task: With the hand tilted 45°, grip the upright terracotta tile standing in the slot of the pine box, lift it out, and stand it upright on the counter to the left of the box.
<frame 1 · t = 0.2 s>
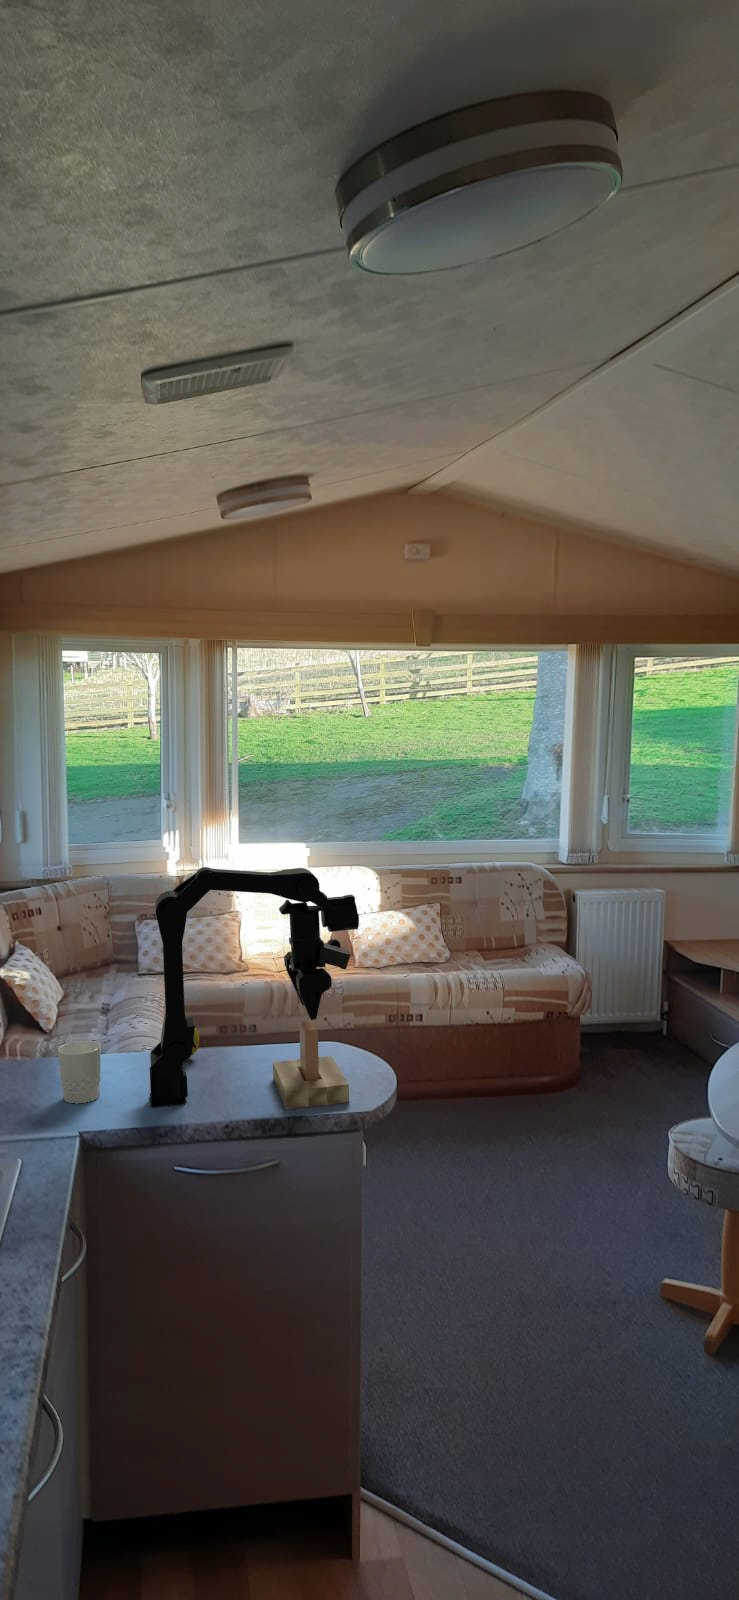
hand: (309, 1012, 202), 15 cm above the worktop, tool pointing down, fingers open, 9 cm apart
pine slot box: (310, 1090, 200), on the worktop
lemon: (186, 1059, 219), on the worktop
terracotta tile: (309, 1057, 200), in the pine slot box
white cup: (81, 1098, 199), on the worktop
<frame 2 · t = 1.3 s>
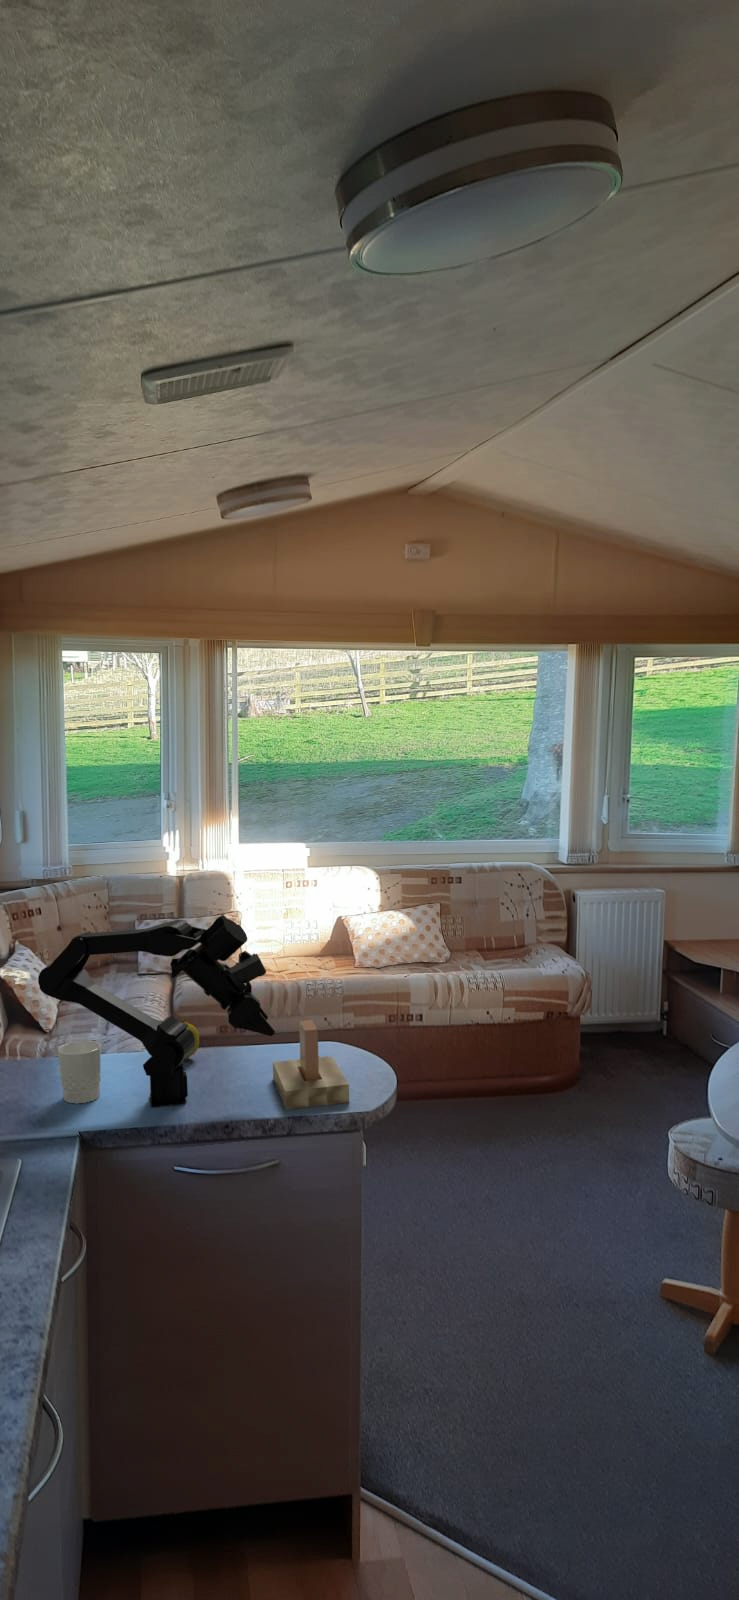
hand: (269, 1026, 197), 13 cm above the worktop, tool tilted 45°, fingers open, 9 cm apart
nothing on the worktop moved.
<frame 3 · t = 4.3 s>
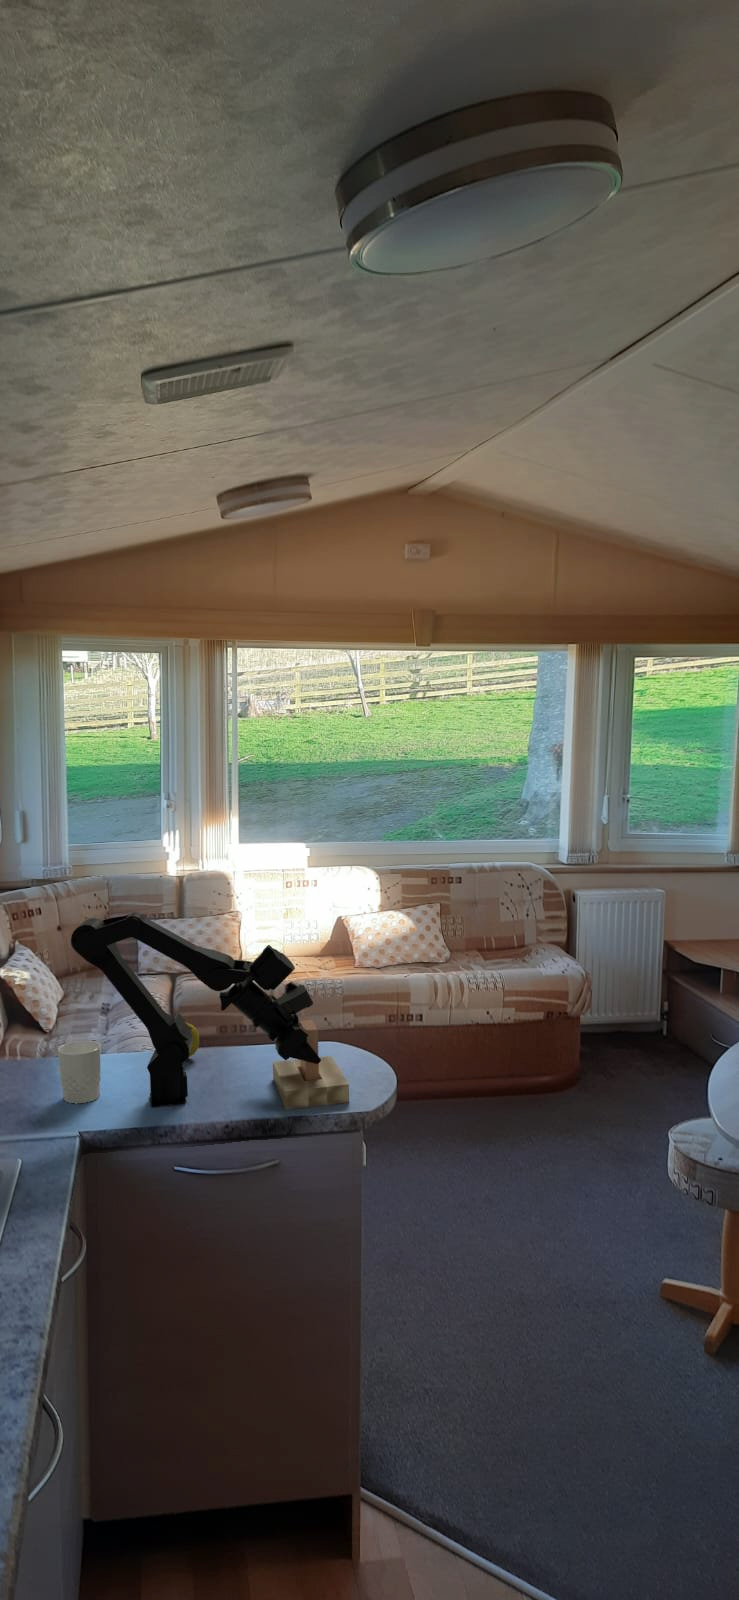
hand: (316, 1056, 200), 7 cm above the worktop, tool tilted 45°, fingers closed on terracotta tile, 6 cm apart
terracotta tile: (309, 1057, 200), in the pine slot box, touching gripper
everything else where it was.
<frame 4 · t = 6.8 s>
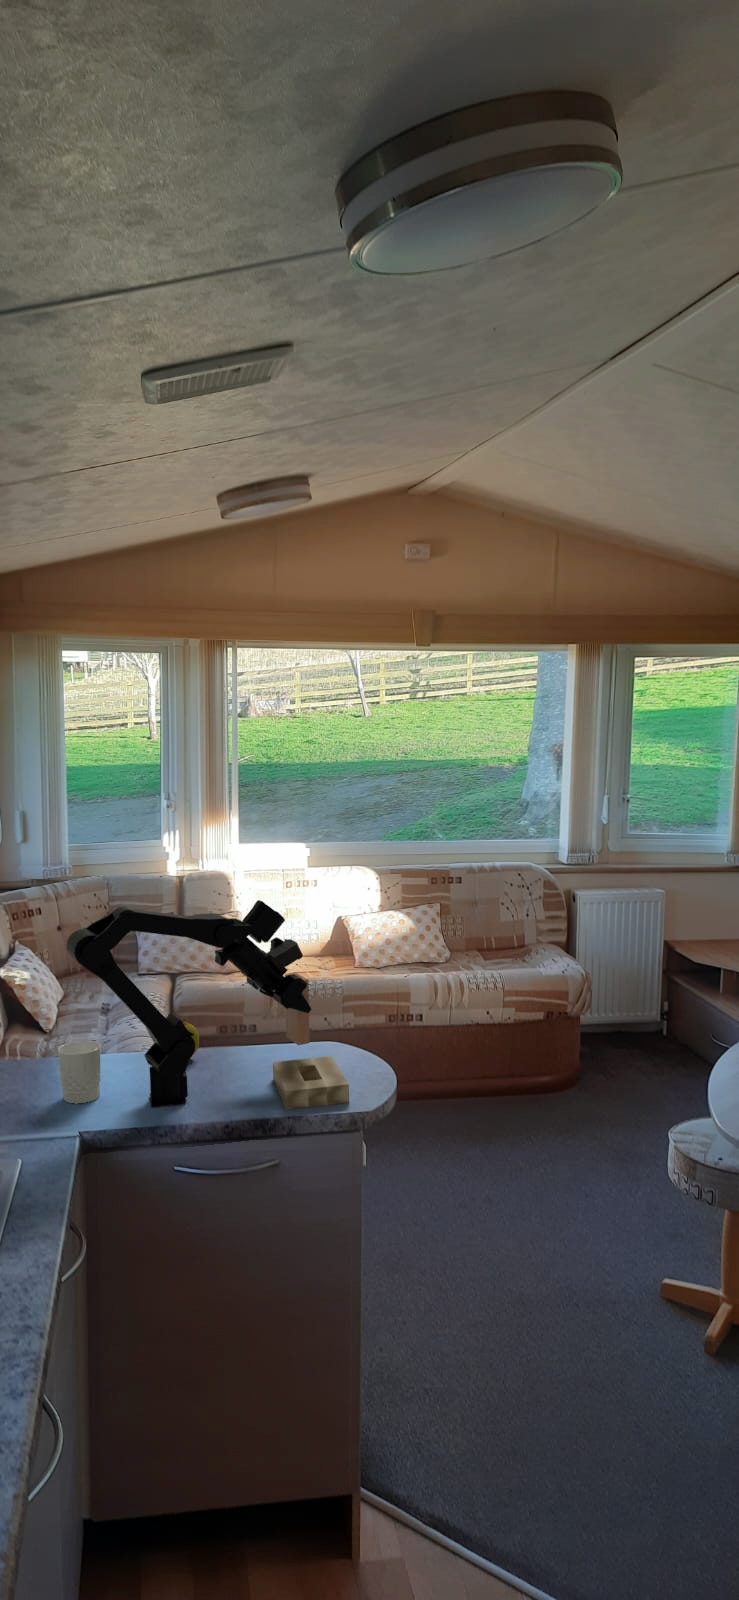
hand: (303, 1007, 209), 13 cm above the worktop, tool tilted 45°, fingers closed on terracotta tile, 6 cm apart
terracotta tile: (297, 1008, 209), point 13 cm above the worktop, touching gripper
everything else where it was.
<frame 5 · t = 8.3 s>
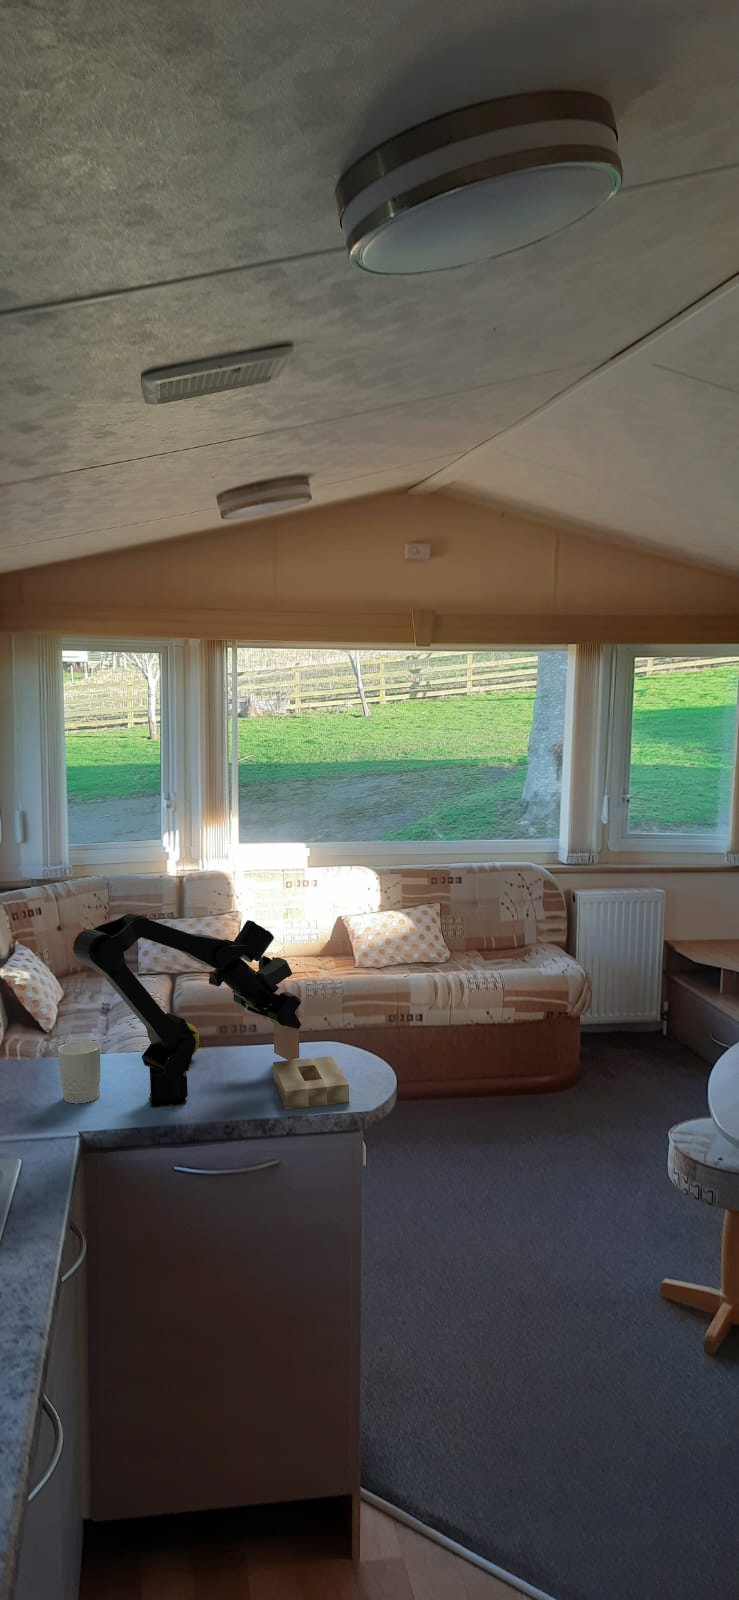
hand: (291, 1023, 214), 9 cm above the worktop, tool tilted 45°, fingers closed on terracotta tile, 6 cm apart
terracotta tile: (286, 1024, 214), point 9 cm above the worktop, touching gripper
everything else where it was.
when the fingers open (7 cm above the worktop, at t = 9.5 s): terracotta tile stays where it is, on the worktop.
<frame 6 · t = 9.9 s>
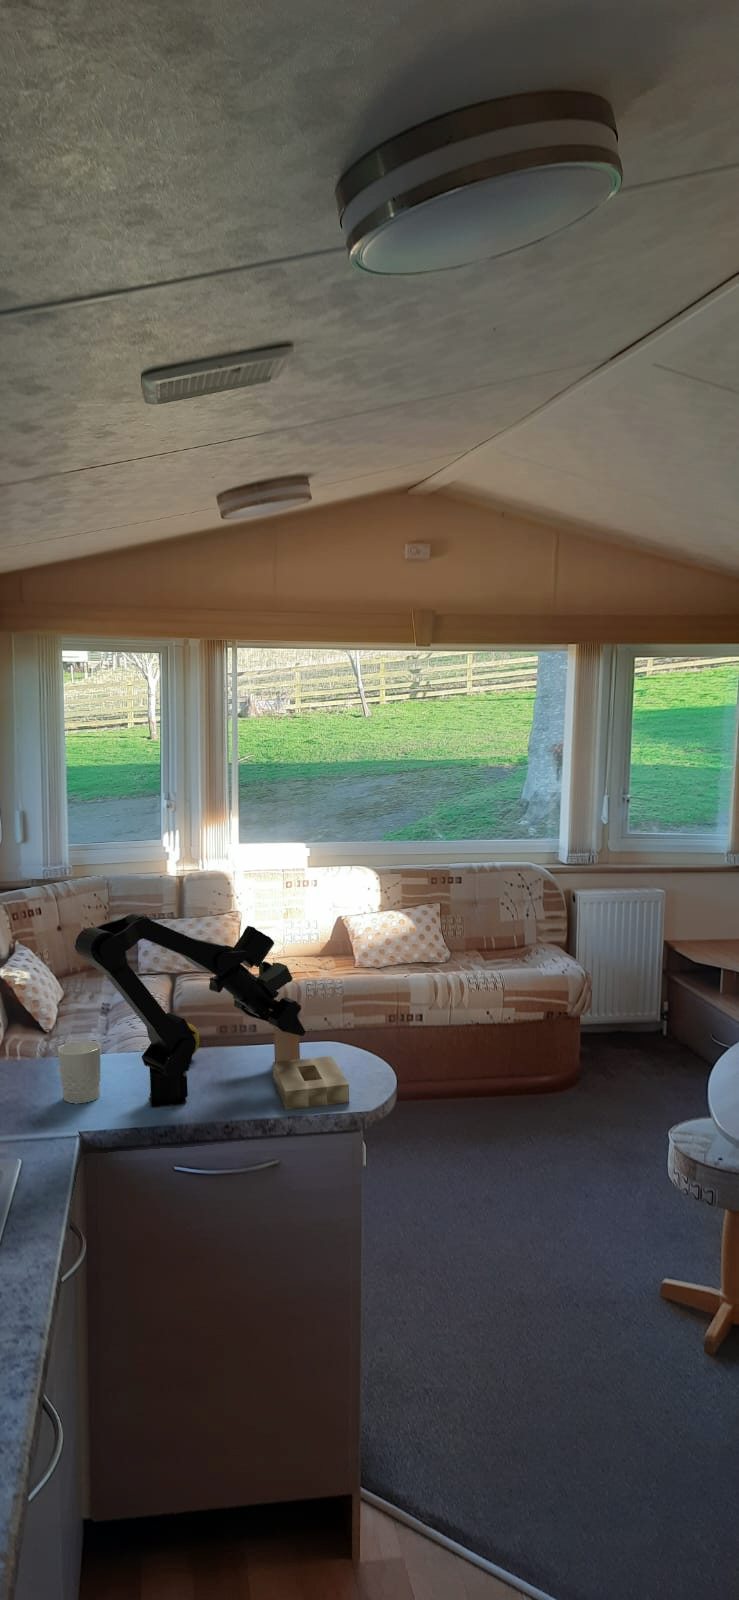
hand: (292, 1028, 214), 8 cm above the worktop, tool tilted 45°, fingers open, 9 cm apart
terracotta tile: (286, 1034, 214), on the worktop
everything else where it was.
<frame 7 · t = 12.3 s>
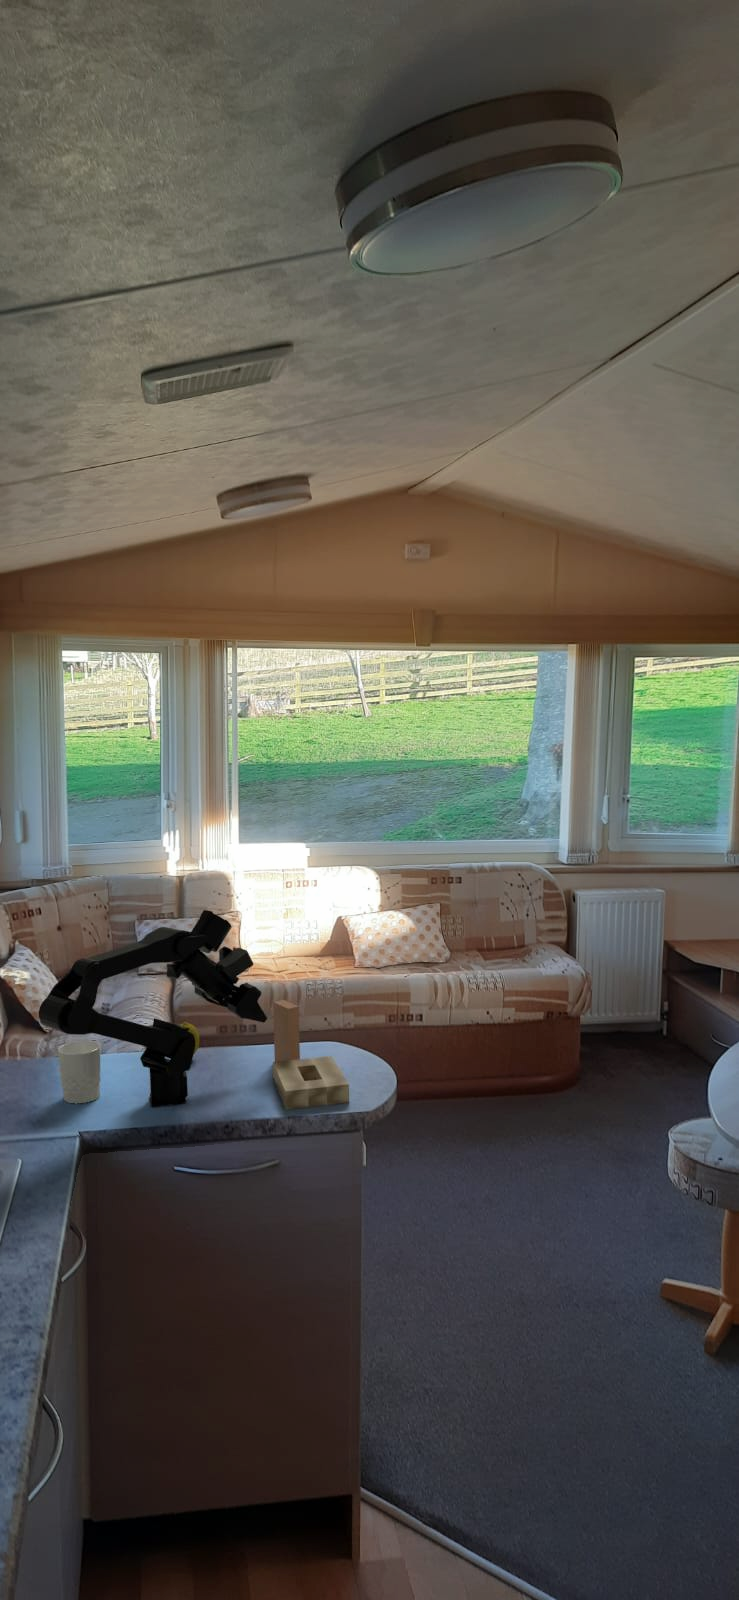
hand: (254, 1014, 209), 12 cm above the worktop, tool tilted 45°, fingers open, 9 cm apart
nothing on the worktop moved.
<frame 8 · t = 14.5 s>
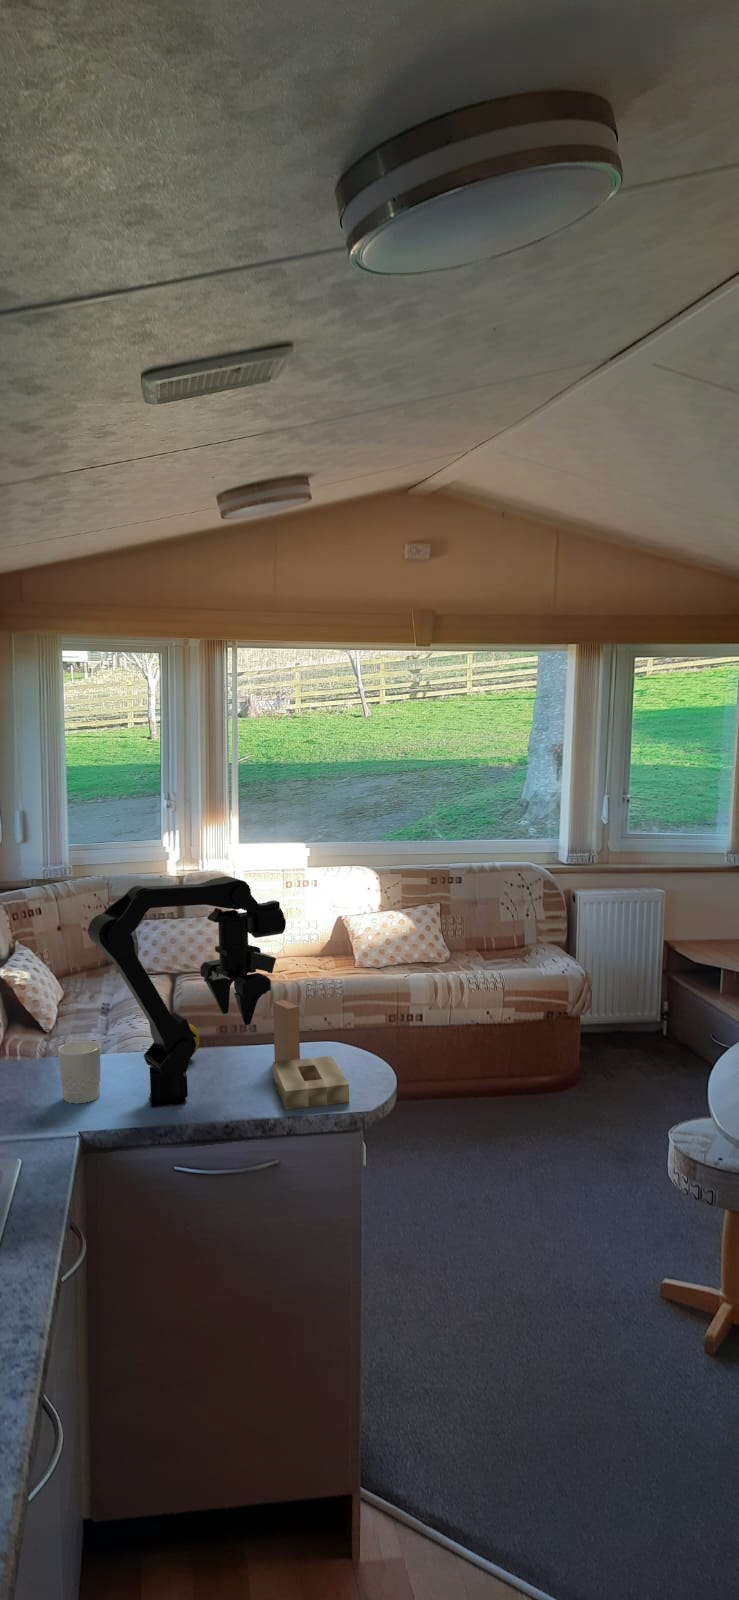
hand: (236, 1019, 204), 13 cm above the worktop, tool pointing down, fingers open, 9 cm apart
nothing on the worktop moved.
at the end: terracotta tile inside the target area (0.0 cm from its centre), on the worktop; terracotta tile tilted 0°; the gripper is holding nothing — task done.
